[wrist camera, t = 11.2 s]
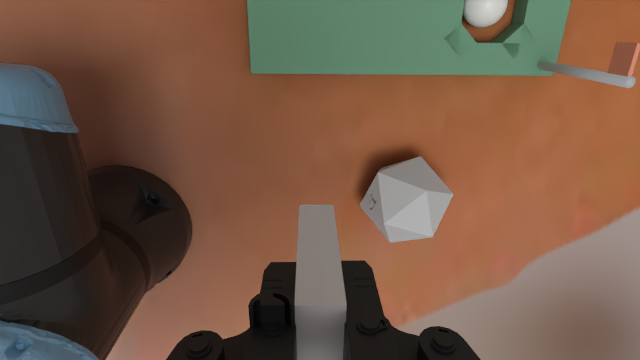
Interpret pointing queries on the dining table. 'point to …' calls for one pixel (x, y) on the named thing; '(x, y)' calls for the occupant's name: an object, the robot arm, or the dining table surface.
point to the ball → (483, 11)
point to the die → (406, 200)
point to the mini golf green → (414, 40)
